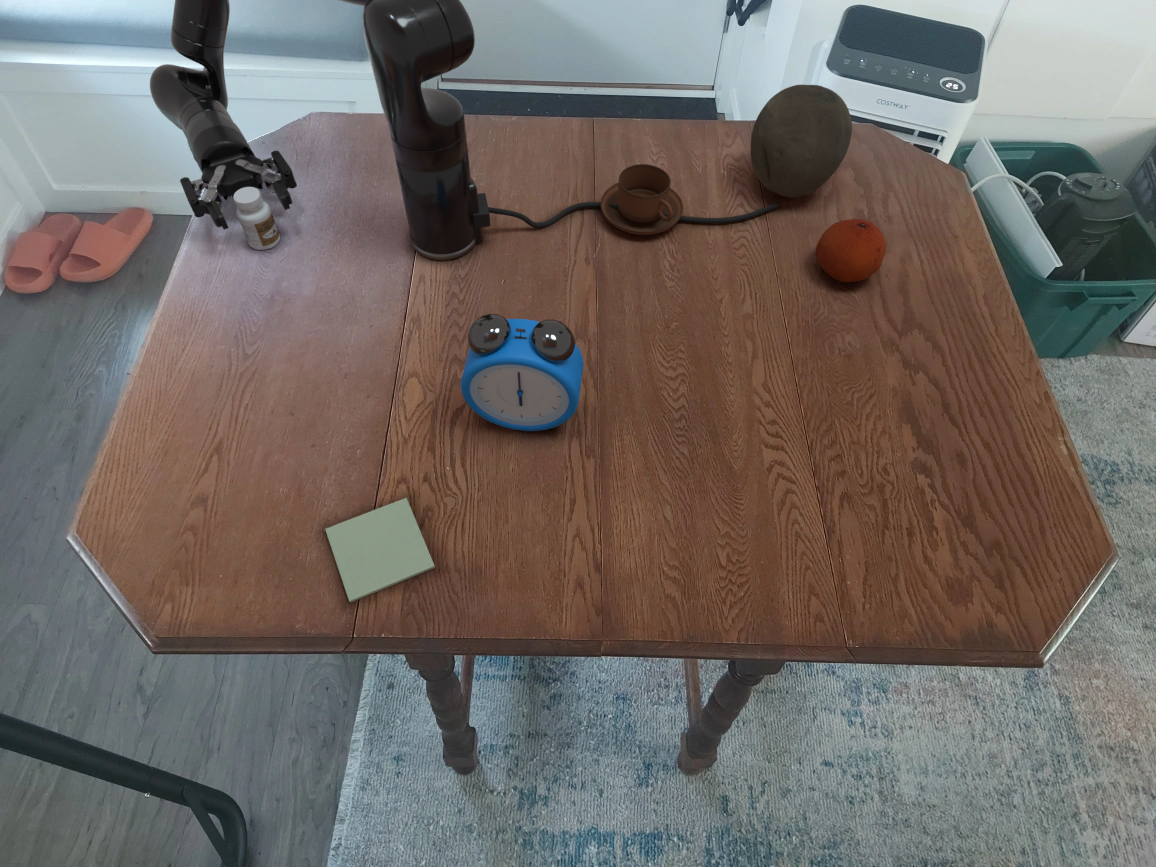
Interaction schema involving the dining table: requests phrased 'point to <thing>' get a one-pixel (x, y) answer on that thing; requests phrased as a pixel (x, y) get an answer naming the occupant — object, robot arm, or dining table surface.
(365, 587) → the coaster
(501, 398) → the alarm clock
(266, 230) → the pill bottle
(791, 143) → the kiwi
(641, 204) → the cup and saucer
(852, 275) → the fruit
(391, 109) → the robot arm
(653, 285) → the dining table surface
